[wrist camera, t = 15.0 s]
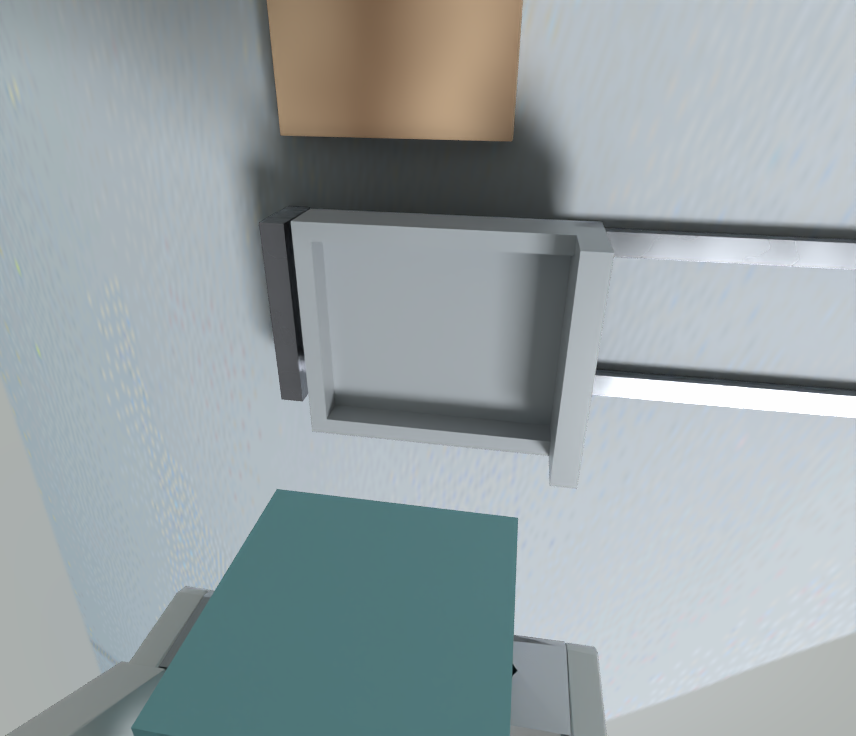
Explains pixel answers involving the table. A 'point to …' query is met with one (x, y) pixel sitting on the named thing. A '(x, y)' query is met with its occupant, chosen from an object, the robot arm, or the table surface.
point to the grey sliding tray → (453, 329)
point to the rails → (606, 381)
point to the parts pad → (396, 68)
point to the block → (351, 627)
